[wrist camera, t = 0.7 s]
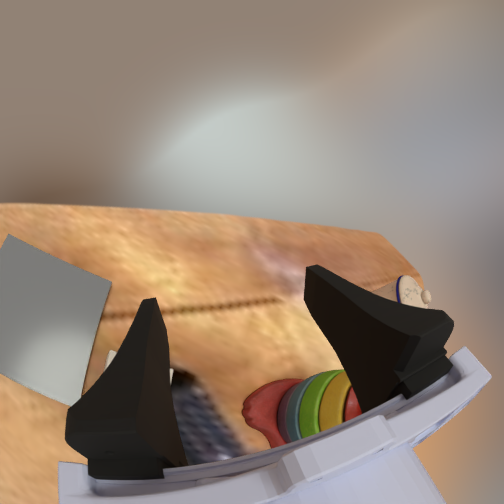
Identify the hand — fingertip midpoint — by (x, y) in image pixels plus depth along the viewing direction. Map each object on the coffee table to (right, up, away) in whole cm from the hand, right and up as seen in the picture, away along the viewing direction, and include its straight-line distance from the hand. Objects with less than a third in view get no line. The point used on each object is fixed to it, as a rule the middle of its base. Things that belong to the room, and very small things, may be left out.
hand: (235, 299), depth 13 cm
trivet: (-18, -4, +5) cm, 19 cm away
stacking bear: (+5, -17, +15) cm, 23 cm away
